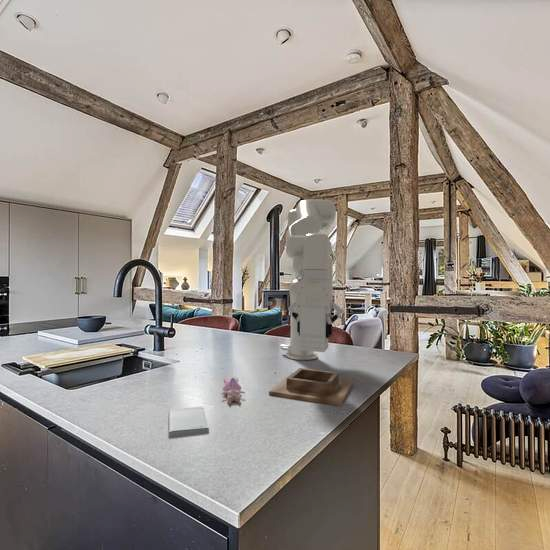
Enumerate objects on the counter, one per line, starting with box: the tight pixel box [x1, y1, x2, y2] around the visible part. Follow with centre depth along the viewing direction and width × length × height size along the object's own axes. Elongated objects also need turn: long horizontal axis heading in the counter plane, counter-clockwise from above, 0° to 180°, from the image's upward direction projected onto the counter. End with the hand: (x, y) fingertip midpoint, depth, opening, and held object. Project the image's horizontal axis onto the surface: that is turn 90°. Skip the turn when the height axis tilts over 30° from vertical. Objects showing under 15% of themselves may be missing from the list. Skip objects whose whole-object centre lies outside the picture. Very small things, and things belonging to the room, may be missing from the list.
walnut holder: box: [268, 367, 354, 407], centre depth 105 cm, size 20×20×4 cm
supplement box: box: [300, 307, 329, 353], centre depth 105 cm, size 7×7×13 cm
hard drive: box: [168, 406, 210, 437], centre depth 80 cm, size 2×8×12 cm
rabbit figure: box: [221, 376, 246, 405], centre depth 98 cm, size 6×6×15 cm
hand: (314, 335), depth 105 cm, fingers closed on supplement box, 7 cm apart
